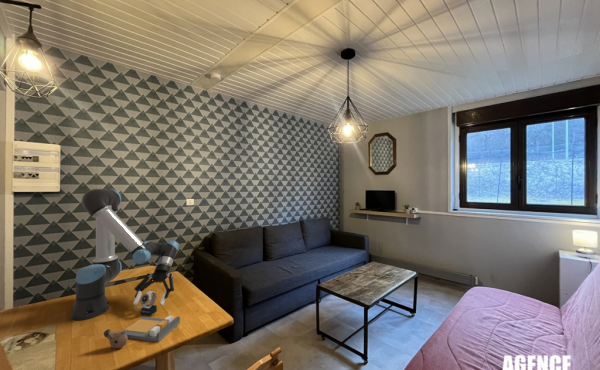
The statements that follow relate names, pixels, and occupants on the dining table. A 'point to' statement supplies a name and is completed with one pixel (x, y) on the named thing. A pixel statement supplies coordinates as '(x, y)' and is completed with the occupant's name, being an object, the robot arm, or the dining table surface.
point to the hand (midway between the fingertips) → (148, 304)
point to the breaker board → (151, 328)
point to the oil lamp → (116, 338)
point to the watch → (144, 301)
